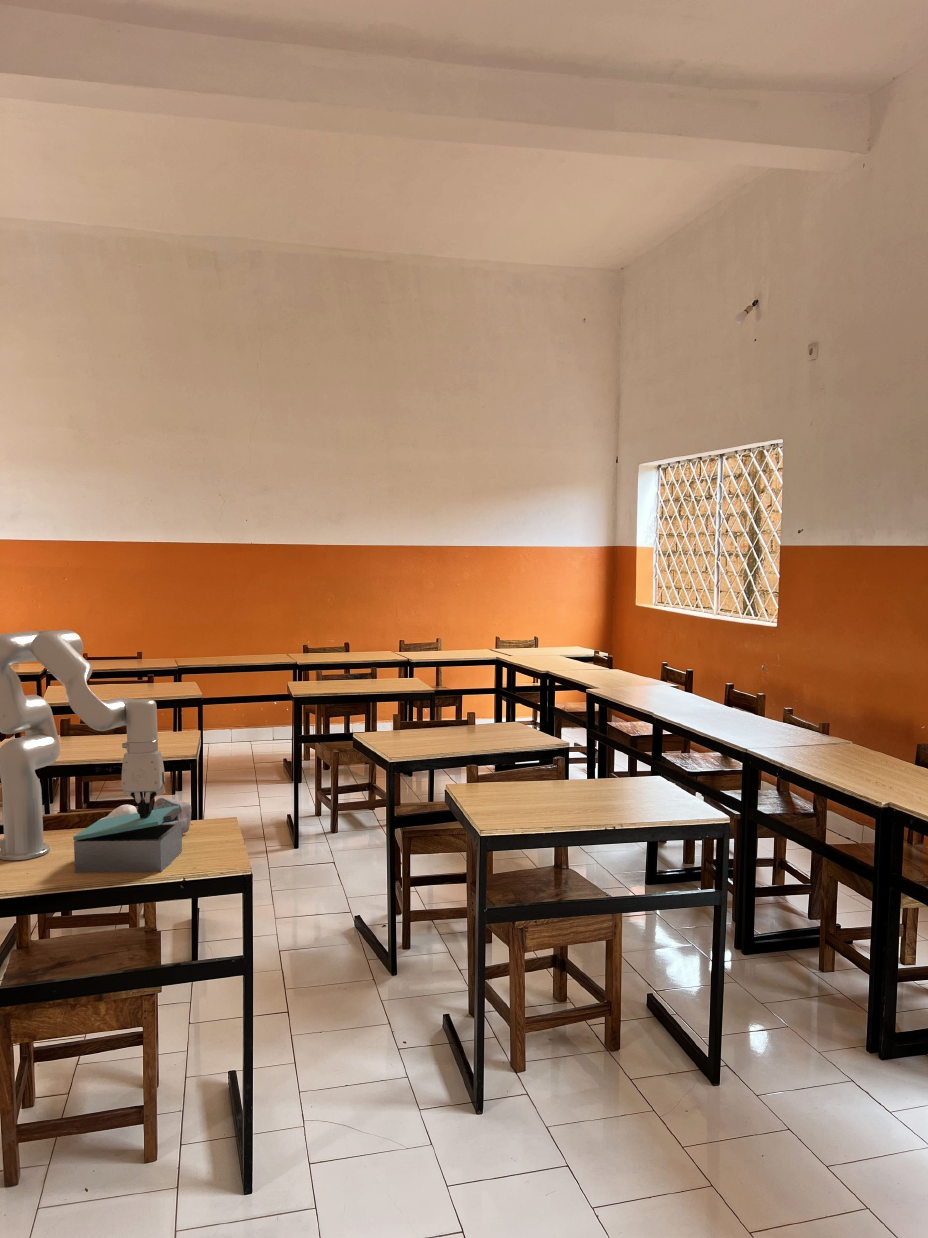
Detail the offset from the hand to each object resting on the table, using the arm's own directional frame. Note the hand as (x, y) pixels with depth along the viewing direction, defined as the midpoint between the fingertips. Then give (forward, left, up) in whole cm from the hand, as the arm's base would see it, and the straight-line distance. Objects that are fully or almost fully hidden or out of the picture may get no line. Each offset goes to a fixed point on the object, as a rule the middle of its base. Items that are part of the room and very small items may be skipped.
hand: (145, 816), depth 236 cm
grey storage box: (-4, 0, -12) cm, 13 cm away
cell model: (-5, +20, -12) cm, 24 cm away
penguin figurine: (-19, +26, -12) cm, 34 cm away
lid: (-3, 0, -2) cm, 4 cm away
